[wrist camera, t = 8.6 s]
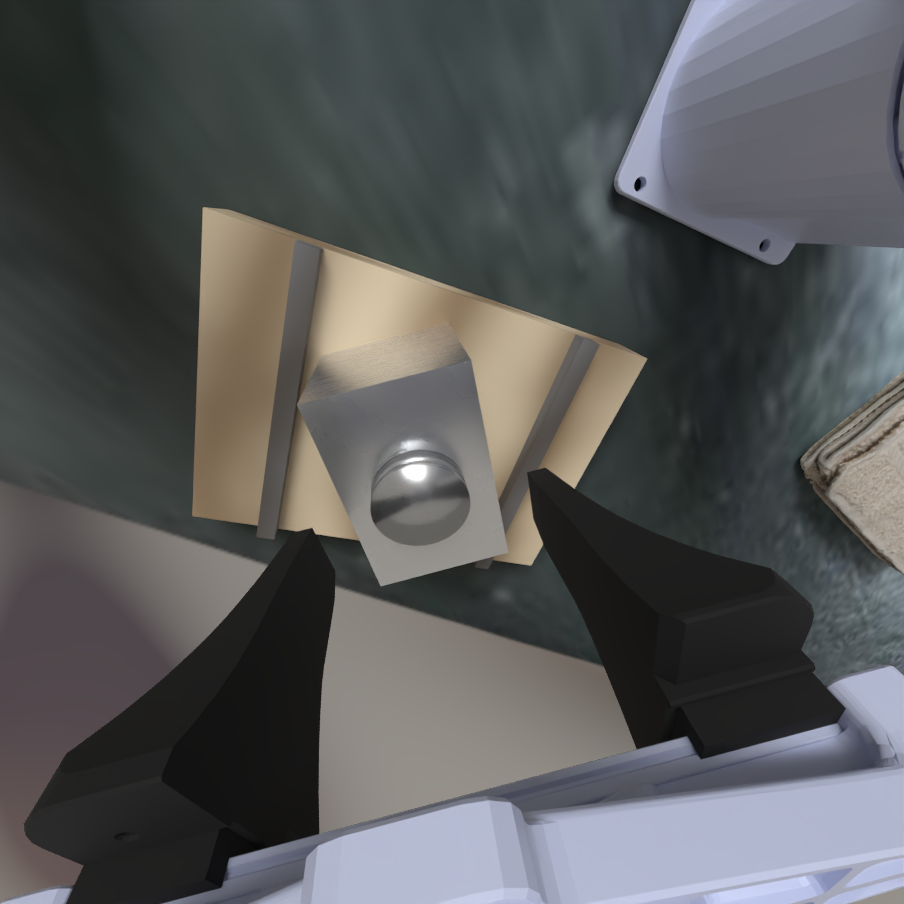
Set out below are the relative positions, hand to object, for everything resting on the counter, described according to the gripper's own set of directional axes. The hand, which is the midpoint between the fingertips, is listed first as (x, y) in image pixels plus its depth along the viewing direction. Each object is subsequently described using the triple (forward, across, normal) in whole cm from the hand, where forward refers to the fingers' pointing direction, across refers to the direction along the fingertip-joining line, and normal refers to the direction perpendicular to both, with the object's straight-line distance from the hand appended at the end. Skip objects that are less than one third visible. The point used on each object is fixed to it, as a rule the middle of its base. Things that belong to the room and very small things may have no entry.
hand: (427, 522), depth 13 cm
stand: (+8, 0, 0) cm, 9 cm away
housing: (+6, 0, -1) cm, 6 cm away
